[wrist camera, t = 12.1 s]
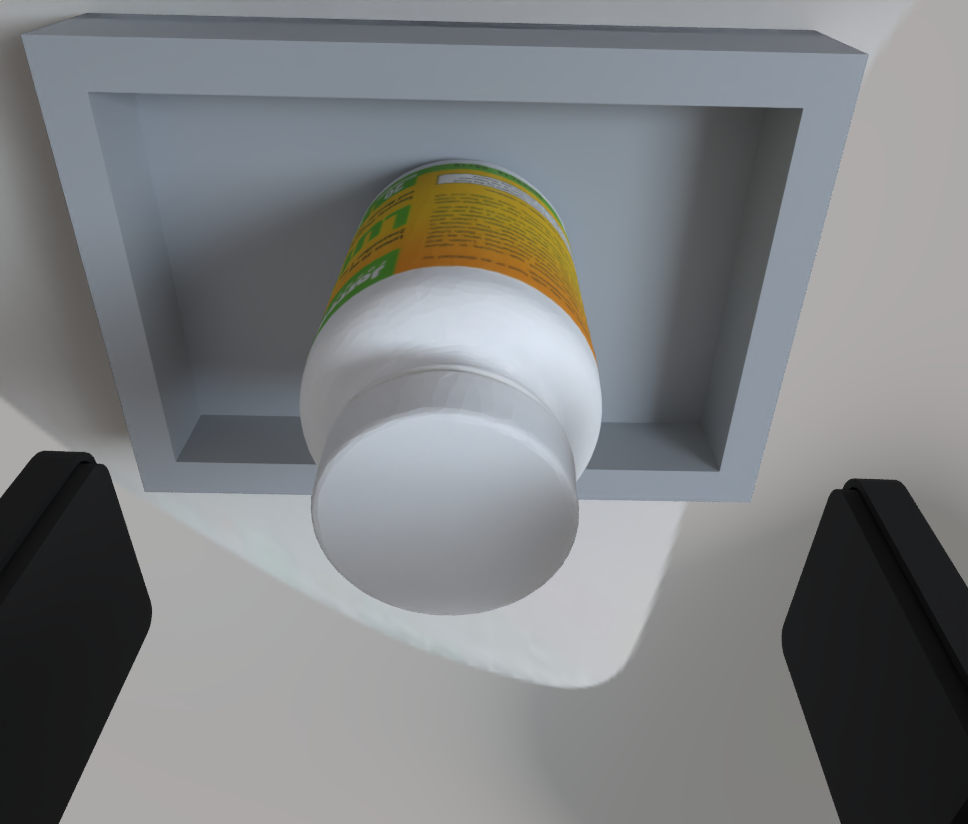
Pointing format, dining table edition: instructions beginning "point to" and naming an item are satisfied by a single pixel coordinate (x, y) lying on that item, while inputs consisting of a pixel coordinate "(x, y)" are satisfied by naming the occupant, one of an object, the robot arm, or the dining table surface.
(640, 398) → the parts tray
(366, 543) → the supplement bottle
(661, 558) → the dining table surface
